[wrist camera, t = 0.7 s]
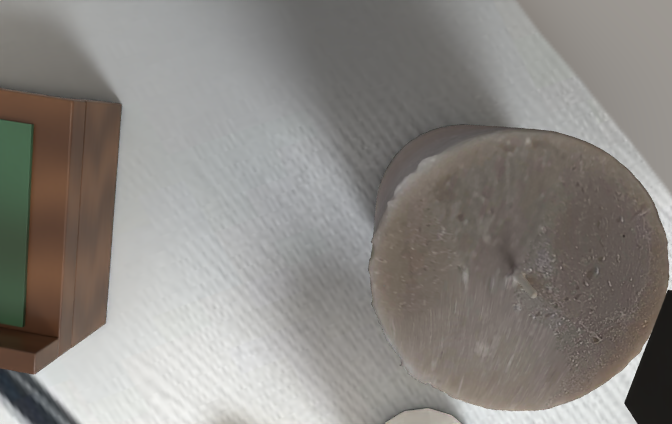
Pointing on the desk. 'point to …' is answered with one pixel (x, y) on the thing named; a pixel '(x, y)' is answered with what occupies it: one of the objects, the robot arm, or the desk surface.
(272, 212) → the desk surface
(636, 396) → the robot arm
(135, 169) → the desk surface
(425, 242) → the pillar candle
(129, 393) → the desk surface
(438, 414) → the white cup
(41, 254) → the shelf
